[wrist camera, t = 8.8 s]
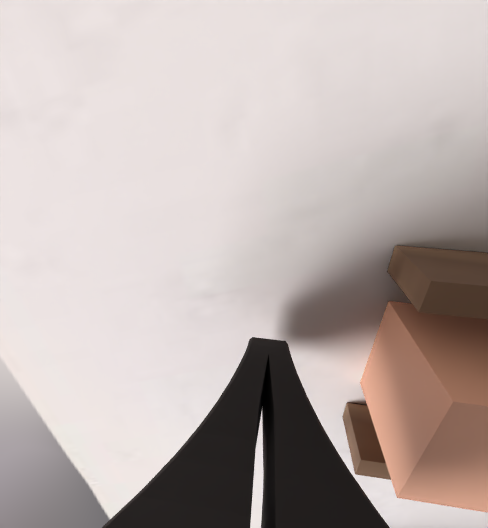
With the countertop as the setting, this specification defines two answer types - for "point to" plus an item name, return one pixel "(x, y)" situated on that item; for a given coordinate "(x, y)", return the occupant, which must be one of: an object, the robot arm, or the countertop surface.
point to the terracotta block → (431, 405)
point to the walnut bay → (425, 301)
